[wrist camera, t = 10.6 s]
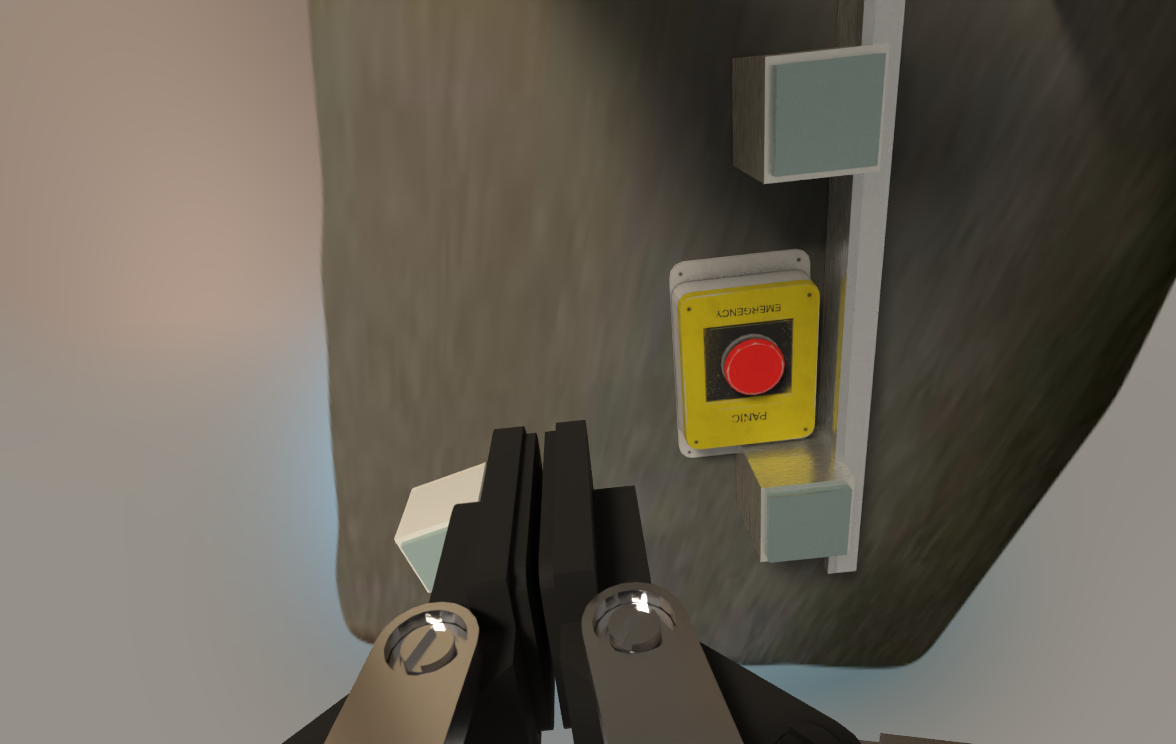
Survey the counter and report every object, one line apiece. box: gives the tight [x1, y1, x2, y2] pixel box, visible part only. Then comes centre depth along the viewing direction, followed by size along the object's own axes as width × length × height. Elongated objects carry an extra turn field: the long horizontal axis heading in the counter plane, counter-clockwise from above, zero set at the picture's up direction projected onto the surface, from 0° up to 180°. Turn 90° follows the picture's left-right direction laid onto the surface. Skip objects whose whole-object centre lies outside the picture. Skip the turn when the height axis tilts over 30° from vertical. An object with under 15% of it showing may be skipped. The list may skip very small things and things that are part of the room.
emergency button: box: [669, 249, 820, 458], centre depth 45 cm, size 9×4×15 cm
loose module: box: [394, 463, 487, 593], centre depth 48 cm, size 5×6×6 cm
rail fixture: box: [732, 0, 905, 574], centre depth 41 cm, size 38×8×8 cm, turn 6°
